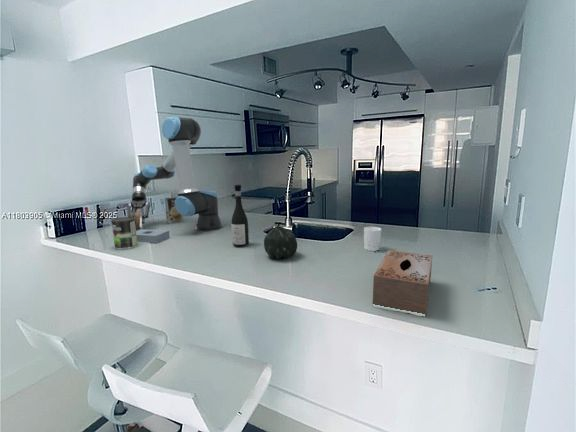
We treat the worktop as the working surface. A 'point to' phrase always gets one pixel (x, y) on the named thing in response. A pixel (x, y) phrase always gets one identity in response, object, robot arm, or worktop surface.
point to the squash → (280, 243)
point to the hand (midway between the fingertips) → (137, 228)
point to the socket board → (152, 235)
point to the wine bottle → (239, 222)
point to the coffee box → (172, 211)
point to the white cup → (372, 238)
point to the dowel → (137, 220)
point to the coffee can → (124, 233)
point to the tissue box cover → (403, 281)
